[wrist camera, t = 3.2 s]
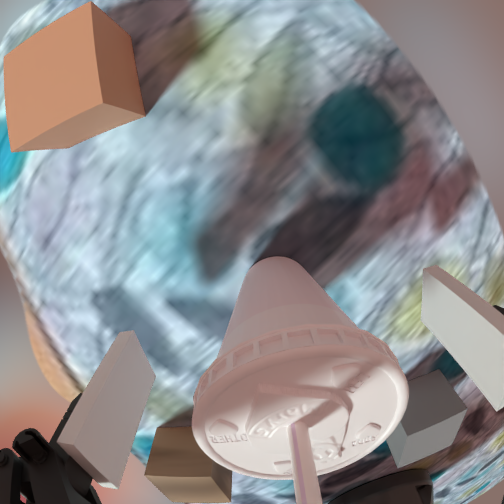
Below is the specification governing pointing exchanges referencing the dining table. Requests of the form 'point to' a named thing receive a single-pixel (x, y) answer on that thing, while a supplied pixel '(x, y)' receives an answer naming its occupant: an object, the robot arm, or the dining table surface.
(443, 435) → the grey cube
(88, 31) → the terracotta block
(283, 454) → the smoothie
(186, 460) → the walnut block
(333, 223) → the dining table surface
